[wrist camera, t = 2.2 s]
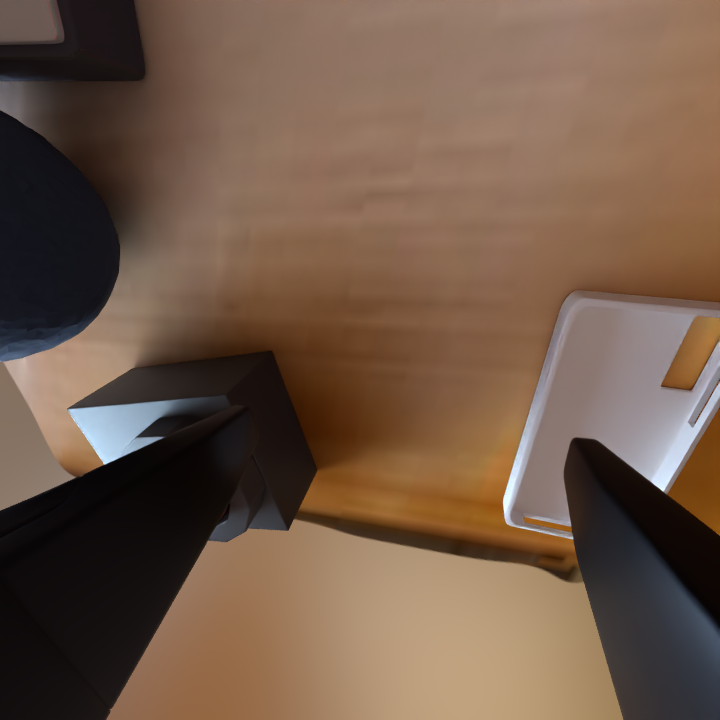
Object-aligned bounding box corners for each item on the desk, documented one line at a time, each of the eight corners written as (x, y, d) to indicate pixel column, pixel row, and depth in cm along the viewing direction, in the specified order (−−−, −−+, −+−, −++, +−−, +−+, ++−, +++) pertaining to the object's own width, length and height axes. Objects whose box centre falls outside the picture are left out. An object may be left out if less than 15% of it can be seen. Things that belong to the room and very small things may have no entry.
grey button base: (272, 350, 23) (203, 415, 17) (317, 470, 27) (275, 558, 21) (132, 368, 27) (36, 426, 21) (190, 471, 31) (124, 544, 25)
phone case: (565, 288, 17) (500, 507, 24) (572, 297, 16) (501, 525, 23) (753, 304, 16) (623, 533, 23) (776, 316, 14) (632, 553, 22)
